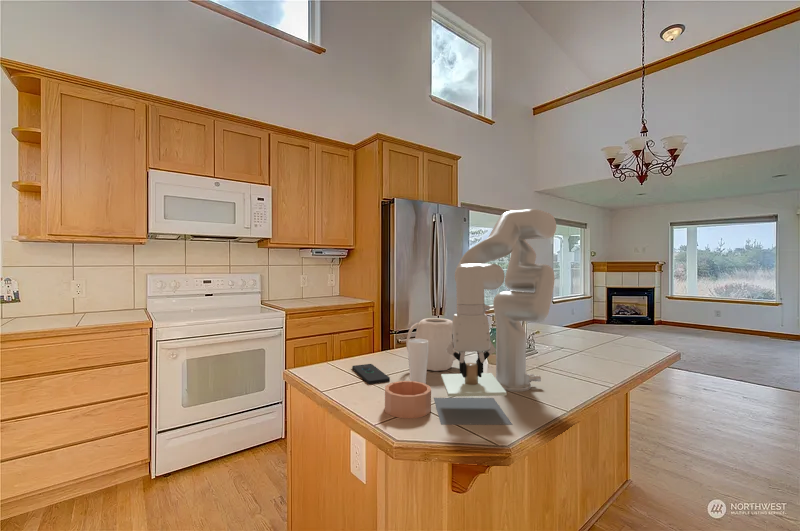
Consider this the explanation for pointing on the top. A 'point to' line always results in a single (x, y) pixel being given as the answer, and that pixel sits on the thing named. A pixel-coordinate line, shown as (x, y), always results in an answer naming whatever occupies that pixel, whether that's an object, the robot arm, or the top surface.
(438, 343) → the watering can
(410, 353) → the drinking glass
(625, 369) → the top surface
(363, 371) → the smart home device
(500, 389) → the cover sheet
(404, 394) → the bowl
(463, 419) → the mat
